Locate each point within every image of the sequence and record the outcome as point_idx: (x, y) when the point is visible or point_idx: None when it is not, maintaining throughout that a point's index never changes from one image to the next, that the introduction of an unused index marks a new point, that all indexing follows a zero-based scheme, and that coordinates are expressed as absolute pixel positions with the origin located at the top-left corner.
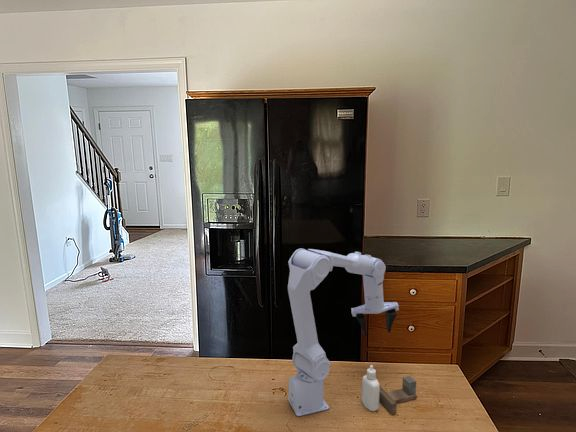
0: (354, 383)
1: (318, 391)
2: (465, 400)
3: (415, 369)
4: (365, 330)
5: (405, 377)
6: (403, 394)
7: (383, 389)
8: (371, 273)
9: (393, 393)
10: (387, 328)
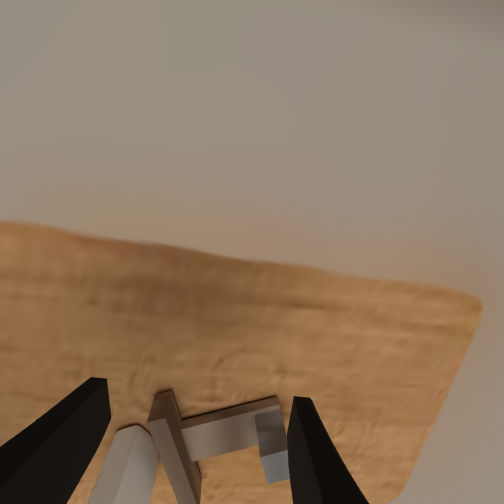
0: (111, 351)
1: None
2: (407, 432)
3: (361, 288)
4: (69, 487)
5: (269, 457)
6: (248, 434)
7: (180, 460)
8: None
9: (219, 430)
10: (292, 443)
